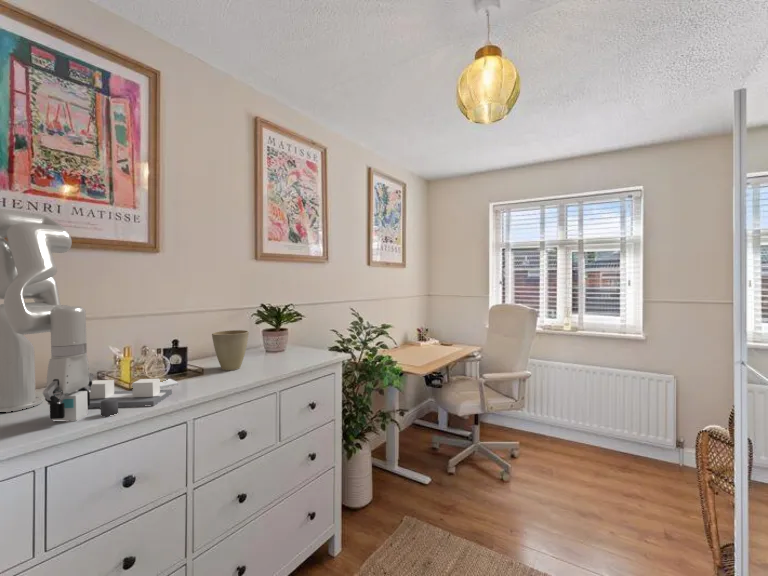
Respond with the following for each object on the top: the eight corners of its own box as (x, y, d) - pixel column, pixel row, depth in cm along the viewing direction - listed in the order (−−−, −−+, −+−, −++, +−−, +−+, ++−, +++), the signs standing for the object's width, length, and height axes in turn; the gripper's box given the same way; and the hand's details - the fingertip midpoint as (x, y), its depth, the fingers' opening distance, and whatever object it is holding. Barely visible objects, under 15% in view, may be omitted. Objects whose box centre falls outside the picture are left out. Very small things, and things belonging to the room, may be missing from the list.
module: (51, 422, 100) (51, 396, 100) (64, 416, 104) (64, 391, 104) (75, 421, 100) (75, 396, 100) (87, 415, 105) (87, 390, 105)
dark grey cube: (97, 417, 103) (97, 403, 103) (106, 412, 107) (106, 398, 107) (112, 416, 104) (112, 402, 104) (121, 411, 108) (121, 398, 108)
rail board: (68, 409, 110) (68, 388, 110) (95, 396, 122) (95, 377, 122) (153, 406, 112) (153, 385, 112) (171, 393, 124) (171, 375, 124)
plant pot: (255, 364, 167) (254, 330, 166) (238, 373, 152) (238, 334, 152) (223, 364, 168) (223, 329, 168) (204, 372, 154) (204, 334, 153)
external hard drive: (131, 389, 131) (169, 382, 140) (139, 394, 126) (178, 386, 135) (131, 385, 131) (169, 378, 140) (139, 389, 126) (178, 381, 135)
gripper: (77, 345, 110) (78, 402, 111) (28, 357, 93) (29, 424, 93) (104, 345, 111) (105, 401, 111) (60, 356, 94) (62, 423, 94)
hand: (71, 411), depth 102 cm, fingers open, 9 cm apart
